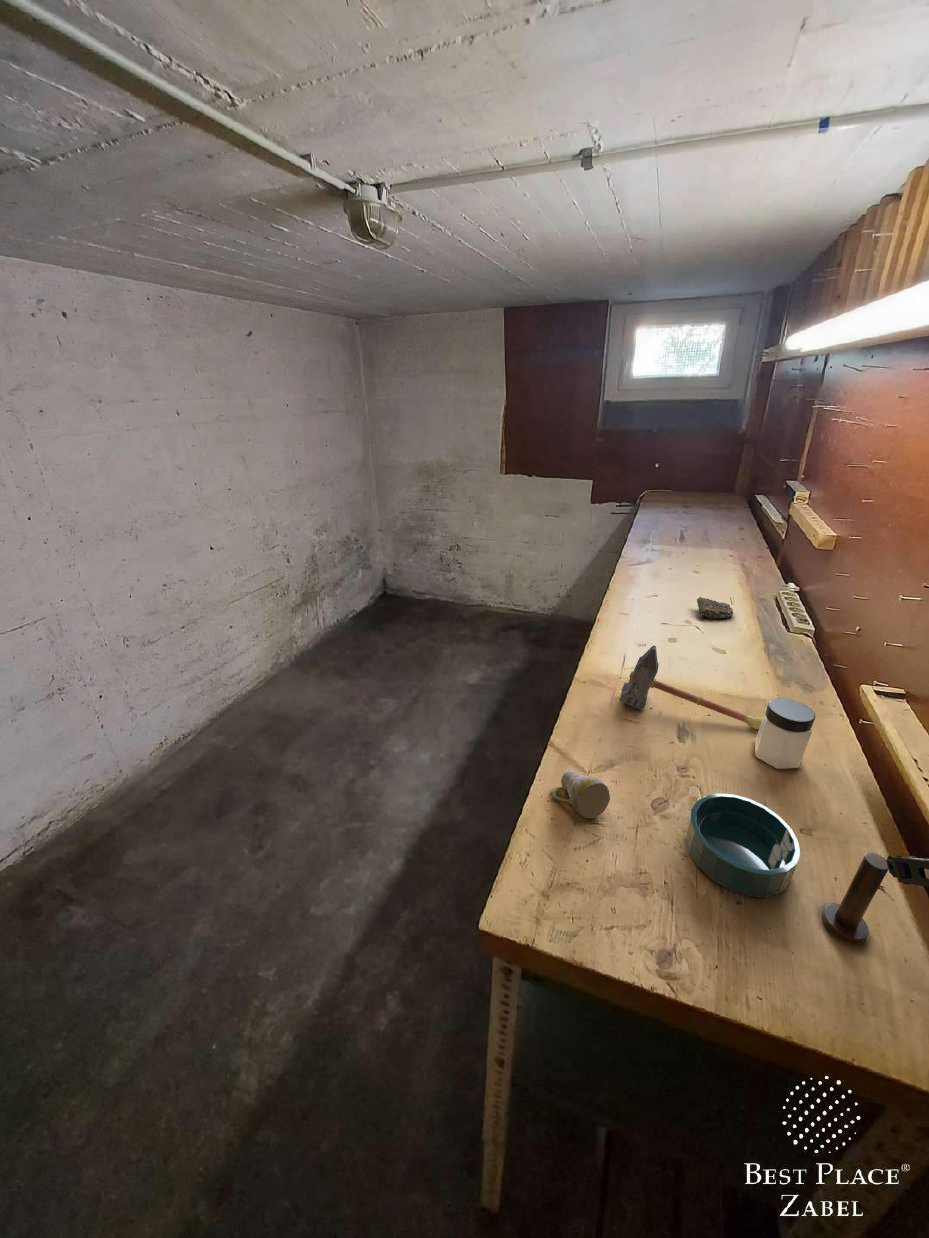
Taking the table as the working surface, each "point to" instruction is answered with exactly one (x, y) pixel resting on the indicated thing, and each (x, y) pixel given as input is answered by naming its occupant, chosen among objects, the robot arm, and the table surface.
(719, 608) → the concrete sample
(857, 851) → the table surface
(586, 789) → the mug
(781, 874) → the bowl
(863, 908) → the brown flanged rod
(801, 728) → the jar
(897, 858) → the robot arm
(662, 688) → the hammer
